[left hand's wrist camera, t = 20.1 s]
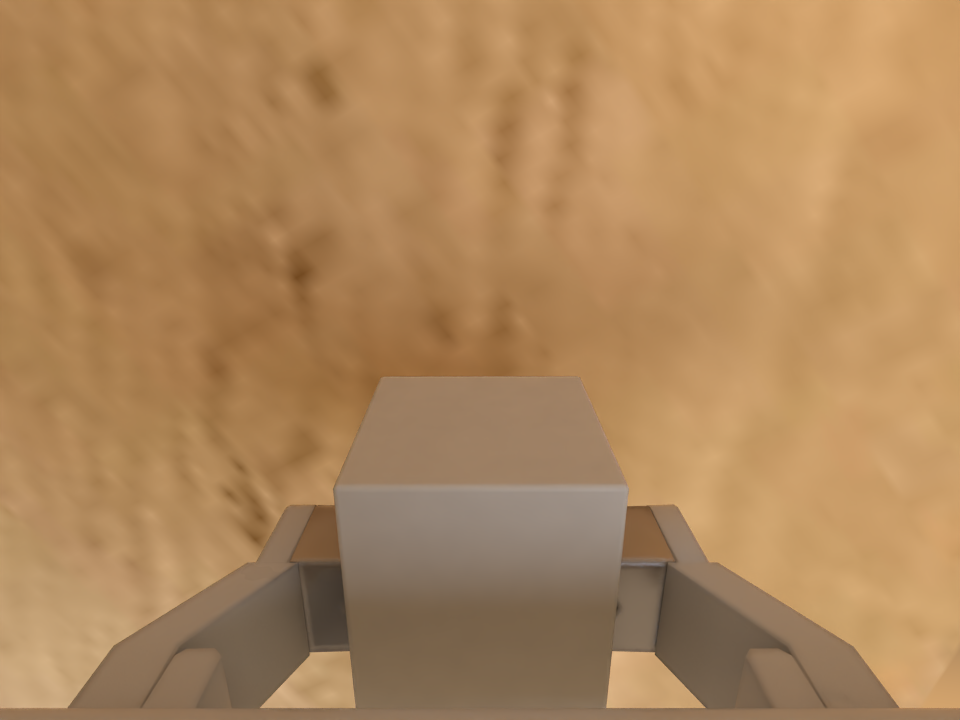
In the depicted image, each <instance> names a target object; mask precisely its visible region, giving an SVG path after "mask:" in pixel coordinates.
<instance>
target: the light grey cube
mask: <svg viewBox="0 0 960 720" xmlns="http://www.w3.org/2000/svg"><path fill="white" fill-rule="evenodd" d="M628 492H629V488H628V485H627V483H626V480H625V478H624V476H623V474H622V471H621V469H620V467H619V465H618V462H617V460H616V458H615V456H614V453H613V451H612V449H611V447H610V444H609V442H608V440H607V438H606V435H605V433H604V431H603V429H602V426H601V424H600V422H599V420H598V417H597V415H596V413H595V411H594V408H593V406H592V404H591V401H590V399H589V397H588V395H587V392H586V390H585V388H584V386H583V383H582V381H581V379H580V377H577V376H411V377H381V378H380V381H379V383H378V385H377V388H376V390H375V392H374V395H373V397H372V399H371V402H370V404H369V406H368V409H367V411H366V413H365V416H364V418H363V420H362V423H361V425H360V427H359V429H358V432H357V434H356V436H355V439H354V441H353V443H352V446H351V448H350V450H349V453H348V455H347V457H346V460H345V462H344V464H343V467H342V469H341V471H340V474H339V476H338V478H337V481H336V483H335V485H334V488H333V493H334V502H335V512H336V522H337V531H338V541H339V551H340V560H341V570H342V580H343V589H344V599H345V609H346V618H347V628H348V638H349V647H350V657H351V667H352V676H353V686H354V696H355V705H356V708H606V704H607V694H608V685H609V675H610V666H611V656H612V646H613V637H614V627H615V617H616V608H617V598H618V588H619V579H620V569H621V560H622V550H623V540H624V531H625V521H626V511H627V502H628Z"/></svg>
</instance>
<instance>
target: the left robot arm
mask: <svg viewBox="0 0 960 720" xmlns="http://www.w3.org/2000/svg"><path fill="white" fill-rule="evenodd" d="M334 651H350V647H349V638H348V628H347V618H346V609H345V599H344V589H343V580H342V570H341V560H340V551H339V541H338V531H337V522H336V512H335V505H318V506H316V505H290V506H288V507H287V508H286V509H285V510H284V512H283V514H282V516H281V518H280V520H279V521H278V523H277V525H276V527H275V529H274V530H273V532H272V534H271V536H270V538H269V540H268V541H267V543H266V545H265V547H264V549H263V551H262V552H261V554H260V556H259V558H258V560H257V561H256V563H246V564H245V565H243V566H241V567H240V568H238V569H237V570H235V571H233V572H232V573H230V574H229V575H227V576H225V577H224V578H222V579H221V580H219V581H217V582H216V583H214V584H212V585H211V586H209V587H208V588H206V589H204V590H203V591H201V592H200V593H198V594H196V595H195V596H193V597H192V598H190V599H188V600H187V601H185V602H184V603H182V604H180V605H179V606H177V607H176V608H174V609H172V610H171V611H169V612H167V613H166V614H164V615H163V616H161V617H159V618H158V619H156V620H155V621H153V622H151V623H150V624H148V625H147V626H145V627H143V628H142V629H140V630H139V631H137V632H135V633H134V634H132V635H131V636H129V637H127V638H126V639H124V640H122V641H121V642H119V643H118V644H116V645H114V646H113V648H112V649H111V650H110V652H109V653H108V654H107V656H106V657H105V658H104V660H103V661H102V662H101V664H100V665H99V666H98V668H97V669H96V670H95V672H94V673H93V674H92V676H91V677H90V679H89V680H88V681H87V683H86V684H85V685H84V687H83V688H82V689H81V691H80V692H79V693H78V695H77V696H76V697H75V699H74V700H73V701H72V703H71V704H70V705H69V707H68V708H0V720H960V708H899V707H898V705H897V704H896V703H895V701H894V700H893V699H892V697H891V696H890V695H889V693H888V692H887V691H886V689H885V688H884V687H883V685H882V684H881V683H880V681H879V680H878V679H877V677H876V676H875V675H874V673H873V672H872V671H871V669H870V668H869V667H868V665H867V664H866V663H865V661H864V660H863V659H862V657H861V656H860V655H859V653H858V652H857V651H856V649H855V648H854V647H853V646H851V645H850V644H848V643H847V642H845V641H843V640H842V639H840V638H838V637H837V636H835V635H834V634H832V633H830V632H829V631H827V630H826V629H824V628H822V627H821V626H819V625H817V624H816V623H814V622H813V621H811V620H809V619H808V618H806V617H805V616H803V615H801V614H800V613H798V612H796V611H795V610H793V609H792V608H790V607H788V606H787V605H785V604H784V603H782V602H780V601H779V600H777V599H775V598H774V597H772V596H771V595H769V594H767V593H766V592H764V591H763V590H761V589H759V588H758V587H756V586H754V585H753V584H751V583H750V582H748V581H746V580H745V579H743V578H742V577H740V576H738V575H737V574H735V573H733V572H732V571H730V570H729V569H727V568H725V567H724V566H722V565H721V564H719V563H709V561H708V560H707V558H706V556H705V554H704V553H703V551H702V549H701V547H700V545H699V544H698V542H697V540H696V538H695V537H694V535H693V533H692V531H691V530H690V528H689V526H688V524H687V523H686V521H685V519H684V517H683V516H682V514H681V512H680V510H679V508H678V507H677V506H675V505H647V506H627V511H626V521H625V531H624V540H623V550H622V560H621V569H620V579H619V588H618V598H617V608H616V617H615V627H614V637H613V646H612V651H630V652H655V655H656V656H657V657H658V658H659V659H660V660H661V661H662V662H663V663H664V665H665V666H666V667H667V668H668V669H669V670H670V671H671V672H672V673H673V674H674V675H675V676H676V677H677V678H678V679H679V680H680V681H681V682H682V683H683V684H684V685H685V686H686V687H687V689H688V690H689V691H690V692H691V693H692V694H693V695H694V696H695V697H696V698H697V699H698V700H699V701H700V702H701V703H702V704H703V705H704V706H705V707H706V708H260V707H261V706H262V705H263V704H264V703H265V701H266V700H267V699H268V698H269V697H270V696H271V695H272V694H273V693H274V692H275V691H276V690H277V689H278V688H279V687H280V686H281V685H282V684H283V683H284V682H285V681H286V679H287V678H288V677H289V676H290V675H291V674H292V673H293V672H294V671H295V670H296V669H297V668H298V667H299V666H300V665H301V664H302V663H303V662H304V661H305V660H306V658H307V657H308V656H309V655H310V654H309V652H334Z"/></svg>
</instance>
